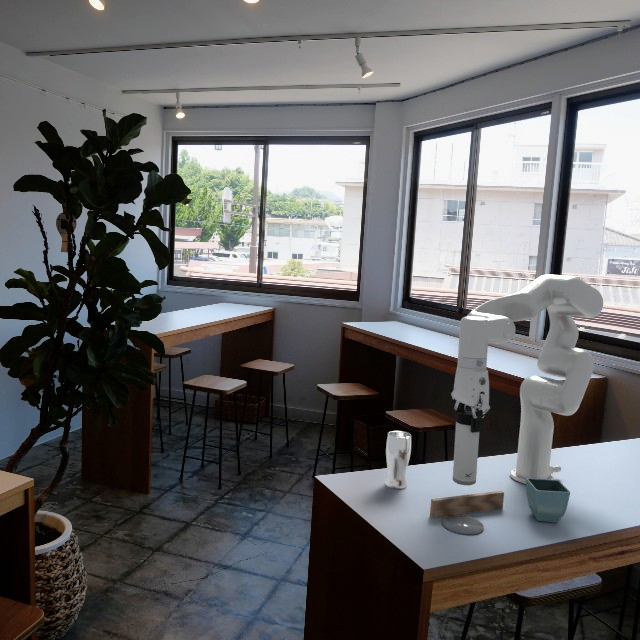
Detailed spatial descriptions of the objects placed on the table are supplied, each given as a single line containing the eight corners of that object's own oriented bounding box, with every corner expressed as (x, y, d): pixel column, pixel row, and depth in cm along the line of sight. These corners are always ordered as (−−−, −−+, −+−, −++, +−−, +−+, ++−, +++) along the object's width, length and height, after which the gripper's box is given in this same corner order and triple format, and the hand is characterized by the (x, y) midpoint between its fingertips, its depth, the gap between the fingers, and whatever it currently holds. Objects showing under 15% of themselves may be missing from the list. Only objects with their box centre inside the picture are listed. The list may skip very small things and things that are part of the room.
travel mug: (472, 487, 167) (477, 415, 164) (449, 482, 170) (453, 410, 168) (480, 480, 172) (485, 409, 169) (457, 475, 176) (461, 405, 173)
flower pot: (522, 509, 167) (525, 477, 166) (555, 512, 167) (559, 479, 166) (532, 524, 158) (535, 490, 157) (567, 526, 158) (571, 492, 157)
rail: (499, 506, 168) (501, 490, 167) (502, 508, 167) (504, 492, 166) (429, 516, 159) (431, 499, 159) (432, 518, 158) (433, 500, 158)
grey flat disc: (467, 515, 161) (467, 513, 161) (492, 532, 152) (492, 530, 152) (434, 519, 157) (434, 517, 157) (457, 537, 148) (458, 535, 148)
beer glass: (379, 486, 178) (383, 434, 176) (388, 478, 184) (392, 429, 182) (403, 491, 175) (407, 439, 173) (411, 484, 181) (415, 433, 179)
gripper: (504, 368, 160) (500, 436, 163) (464, 356, 176) (460, 418, 179) (480, 370, 158) (476, 439, 160) (441, 357, 173) (438, 420, 176)
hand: (468, 427), depth 169 cm, fingers closed on travel mug, 6 cm apart
